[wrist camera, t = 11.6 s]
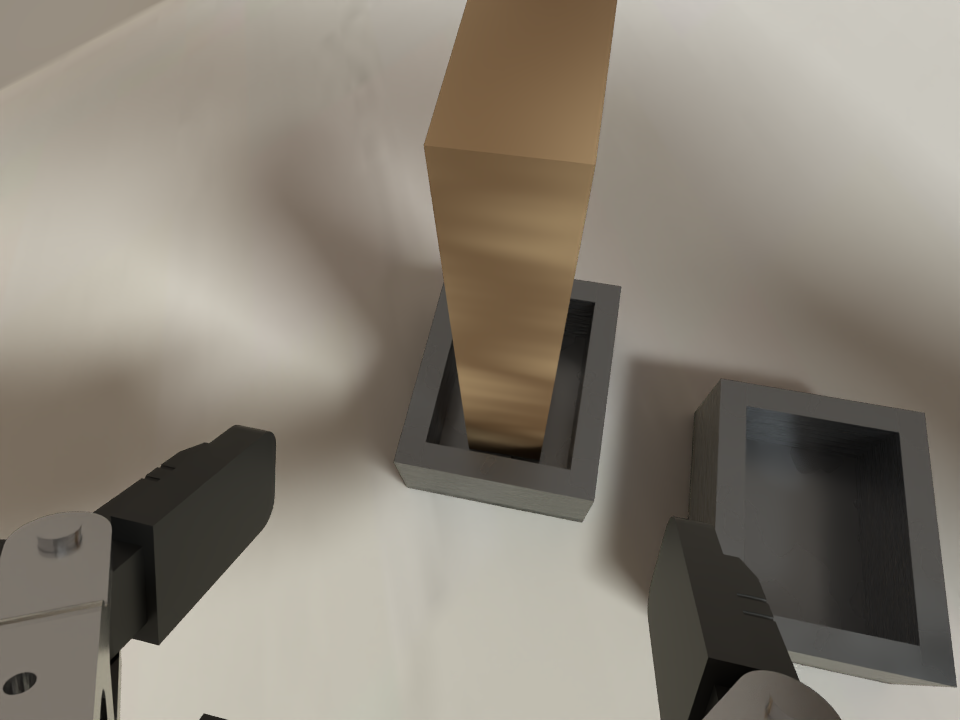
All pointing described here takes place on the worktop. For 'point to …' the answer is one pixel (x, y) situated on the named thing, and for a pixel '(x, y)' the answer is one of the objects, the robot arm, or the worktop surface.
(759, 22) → the worktop surface
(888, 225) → the worktop surface
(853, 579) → the endcap
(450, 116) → the slat
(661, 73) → the worktop surface
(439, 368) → the endcap
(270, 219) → the worktop surface
